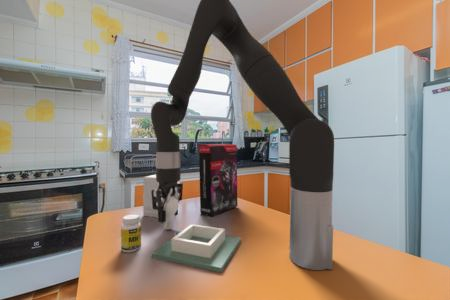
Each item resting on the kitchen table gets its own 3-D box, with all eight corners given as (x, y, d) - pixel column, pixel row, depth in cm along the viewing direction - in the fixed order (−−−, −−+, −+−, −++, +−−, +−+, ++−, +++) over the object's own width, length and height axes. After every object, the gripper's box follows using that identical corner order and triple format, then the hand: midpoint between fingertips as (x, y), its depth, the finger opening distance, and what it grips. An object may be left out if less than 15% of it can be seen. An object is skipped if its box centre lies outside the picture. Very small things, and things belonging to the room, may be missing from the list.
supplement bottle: (128, 254, 54) (128, 221, 54) (117, 249, 57) (117, 217, 57) (144, 246, 59) (144, 215, 58) (133, 242, 61) (133, 212, 61)
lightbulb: (173, 234, 67) (173, 198, 66) (154, 232, 68) (154, 197, 67) (181, 226, 73) (181, 193, 72) (164, 225, 74) (163, 192, 74)
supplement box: (163, 219, 80) (162, 178, 79) (142, 216, 83) (142, 176, 82) (176, 211, 88) (176, 174, 88) (157, 209, 91) (157, 173, 91)
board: (241, 241, 62) (241, 227, 62) (221, 272, 47) (221, 254, 47) (185, 232, 68) (185, 219, 68) (151, 257, 53) (151, 241, 53)
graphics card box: (211, 217, 81) (211, 144, 80) (198, 213, 86) (198, 144, 85) (237, 207, 95) (238, 144, 94) (225, 204, 99) (225, 143, 98)
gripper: (164, 169, 62) (165, 228, 62) (189, 164, 75) (189, 212, 76) (143, 168, 64) (143, 224, 65) (171, 163, 78) (171, 210, 78)
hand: (168, 218), depth 70 cm, fingers closed on lightbulb, 6 cm apart
